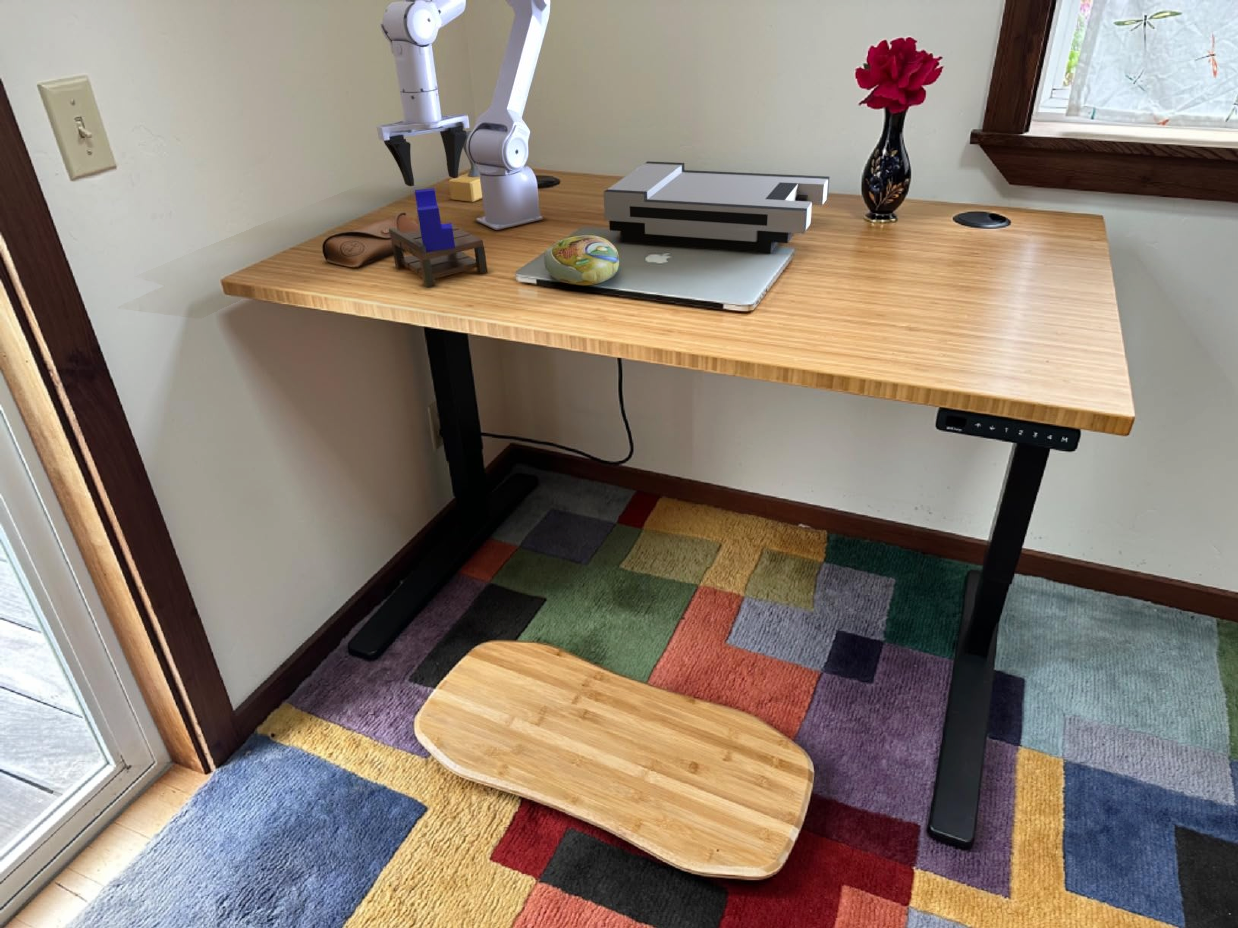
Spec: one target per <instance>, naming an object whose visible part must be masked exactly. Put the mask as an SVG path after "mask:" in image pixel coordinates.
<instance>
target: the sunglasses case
mask: <svg viewBox="0 0 1238 928" xmlns="http://www.w3.org/2000/svg"><path fill="white" fill-rule="evenodd" d="M389 228H395V229H396V230H398V231H400V232H402V233H409V232H413V231H418V230H420V224H419V223H416V221H414V220H413V219H411V218H410V217H408V216H407V213H406V212H400V213H398V214H396V215H394V216H392V217H389V218H386V219H382V220H378V221H375V222H373V223H369V224H366V225H362V226H360V227H357V228H355V229H351V230H348V231H343V232H338V233H335V234H331V235H330V236H328V237H327V238H325V239H324V241H323V243H322V245H321V249H322V254H323V257H324V259H325V261H326V262H327V263H329V264H330V263H331V264H332V265H335V266H339V267H344V268H345V267H346V268H358V267H361V266H363V265H365V264H368V263H370V262H373V261H376V260H380V259H382V258H385V257H387V256H391V255H393V250H392V244H391V243H392V242H391V236H390V234H389ZM402 250H403V249H402ZM403 251H404V250H403Z"/></svg>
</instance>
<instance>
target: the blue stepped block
mask: <svg viewBox="0 0 1238 928" xmlns="http://www.w3.org/2000/svg"><path fill="white" fill-rule="evenodd" d="M414 196H415V201H416V202H415V203H416V211H417V218H418V225H419V226H420V230H421V236H422V242H423V245H425V248H426V252H428V251H437V250H445V249H454V248H455V243H454V236H453V229H452V225H453V224H452V223H451V222H448V223H447V222H445V223H442V222H441V214H440V208H439V205H438V202H437V201H438V200H437V196H436V189H435V188H434V187H432V188H431V187H430V188H423V189H414ZM451 224H452V225H451Z"/></svg>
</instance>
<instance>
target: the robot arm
mask: <svg viewBox="0 0 1238 928" xmlns="http://www.w3.org/2000/svg"><path fill="white" fill-rule="evenodd" d="M466 1H467V0H405V1H392V2H390V4H388V5H387V7H386V8H385V10H384V13H383V17H382V23H380V29H381V31H382V34H383V36H384V37H385V39H386V40H387V41H388V44H389V46H390V50H391V54H393V57H394V63H395V68H396V70H395V71H396V75H397V81H398V82H397V83H398V88H399V89H398V90H399V95H400V101H401V108H402V115H403V120H399V121H396V122H391V123H386V124H380V125H376V131H377V136H378V137H377V138H378V140H380V141H383V143H384V145H385V146H386V148H387V149H388V151H389V152H390V154H391V155H392V157H393V159H394V161H395V162H396V165H397V167H398V168H399V169H398V170H399V171H400V173H401V176H402V178H403V181H404V184H405V185H406V186H408V187H414V186H415V178H414V172H413V167H412V158H411V155H412V153H411V146H412V145H411V143H410V142H409V141H407V139H406V137H411V136H412V137H413V136H419V135H426V134H432V133H438V132H439V134H440V137H441V141H442V144H443V149H444V153H445V160H446V167H447V168H446V169H447V174H448V177H449V178H451V179H453V178H458V177H459V169H460V162H461V156H462V151H463V150H464V149H463V146H464V143H465V141H466V138H467V130H465V129H470V121H469V115H468V114H465V113H459V114H450V115H449V114H447V115H442V111H441V104H440V103H441V102H440V96H439V90H438V89H439V88H438V81H437V75H436V67H435V60H434V53H433V52H434V51H433V43H434V42H435V40H436V38H437V36H438V33H439V30H440V29H442V28H443V27H444V26H446V25H448V24H449V23H450V22H452V21H453V20H454V19H456V18H458V17H459V16H460V15H462V14H463V13H464V12H465V9H466V5H467V4H466ZM505 1H506V3H507V4H508V6H509V7H511V8H512V11H513V13H514V16H513V21H512V25H511V28H510V32H509V36H508V39H507V44H506V47H505V49H504V50H505V51H504V54H503V59H502V63H501V66H500V69H499V74H498V77H497V82H496V85H495V87H494V88H495V89H494V92H493V95H492V98H491V99H492V100H491V103H490V107H489V108H488V109H487V110H486V111H484V112H483V113H482V114H479V116H478V117H477V119H476V122H475V125H474V127H473V129H472V130H471V131H472V132H471V133H470V134H469V136H468V139H467V144H466V150H467V154H468V157H469V159H470V160H471V162H472V163H474V164H475V165H476V170H477V171H479V176H480V184H481V191H482V198H481V199H482V207H483V214H484V216H480V217H477V218H476V219H475V221H476V222H478V223H480V224H481V225H484V226H486V227H489V228H490V229H493V230H496V231H500V230H503V229H508V228H511V227H516V226H520V225H525V224H529V223H533V222H537V221H542V220H543V219H544V218H543V216H541V211H540V210H541V209H540V199H539V197H540V196H539V188H538V181H537V177H536V174H535V172H534V171H533V170H532V168H531V167H529V166H528V165H526V163H527V161H528V158H529V139H530V134H531V130H530V129H529V127H528V125H527V124H526V122H525V121H524V120H523V114H524V111H525V108H526V104H527V101H528V96H529V93H530V88H531V85H532V82H533V79H534V75H535V70H536V67H537V64H538V59H539V56H540V52H541V48H542V45H543V42H544V41H543V40H544V38H545V34H546V30H547V26H548V22H549V19H550V18H549V17H550V13H551V0H505ZM468 157H467V158H468ZM469 159H468V160H469Z"/></svg>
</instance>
